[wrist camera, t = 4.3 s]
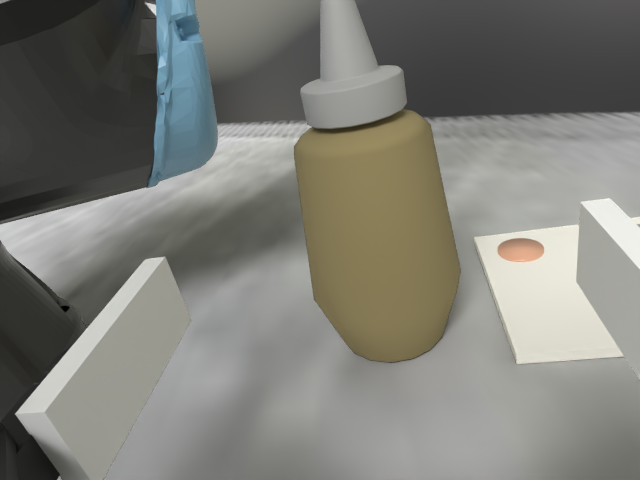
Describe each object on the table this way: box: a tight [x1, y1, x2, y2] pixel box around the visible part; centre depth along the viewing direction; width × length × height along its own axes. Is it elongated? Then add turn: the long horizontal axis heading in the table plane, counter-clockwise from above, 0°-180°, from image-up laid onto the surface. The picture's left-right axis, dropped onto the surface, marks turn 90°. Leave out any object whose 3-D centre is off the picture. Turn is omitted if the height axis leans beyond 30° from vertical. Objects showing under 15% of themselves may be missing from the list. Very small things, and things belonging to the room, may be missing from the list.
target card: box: [474, 217, 640, 364], centre depth 27 cm, size 12×12×1 cm
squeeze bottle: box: [294, 0, 461, 362], centre depth 23 cm, size 8×8×18 cm
